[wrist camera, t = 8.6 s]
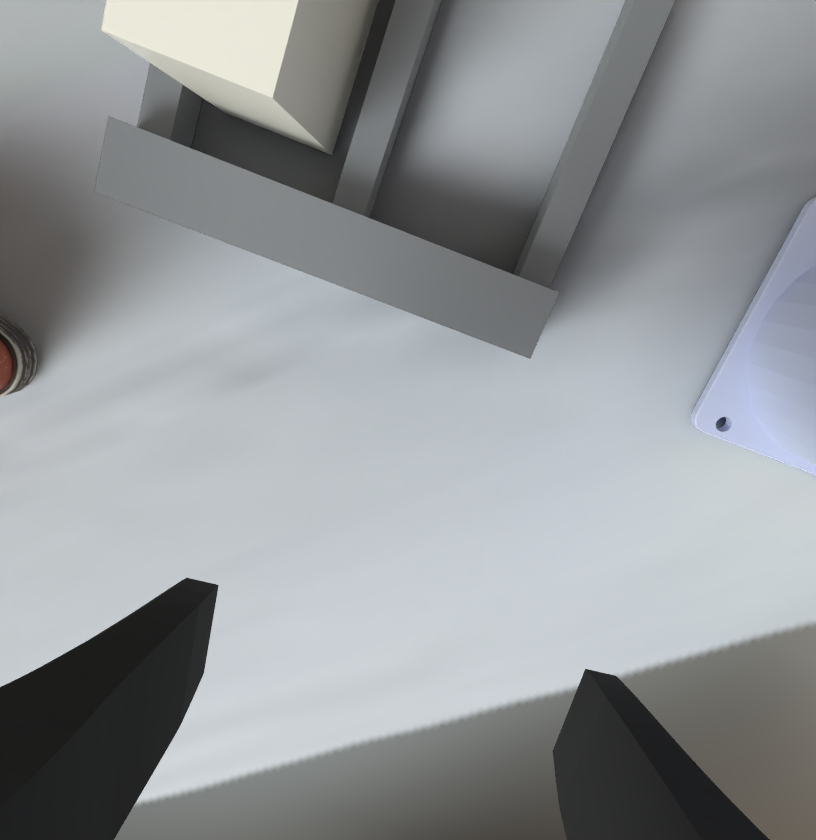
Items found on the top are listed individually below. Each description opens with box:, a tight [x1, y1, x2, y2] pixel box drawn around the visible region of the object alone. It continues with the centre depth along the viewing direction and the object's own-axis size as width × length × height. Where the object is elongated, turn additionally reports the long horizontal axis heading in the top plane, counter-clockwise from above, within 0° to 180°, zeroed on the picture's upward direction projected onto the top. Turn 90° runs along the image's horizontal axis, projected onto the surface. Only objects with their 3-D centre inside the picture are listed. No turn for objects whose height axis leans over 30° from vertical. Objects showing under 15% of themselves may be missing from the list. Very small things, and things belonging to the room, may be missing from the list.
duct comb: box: [94, 0, 675, 358], centre depth 16 cm, size 13×10×3 cm
